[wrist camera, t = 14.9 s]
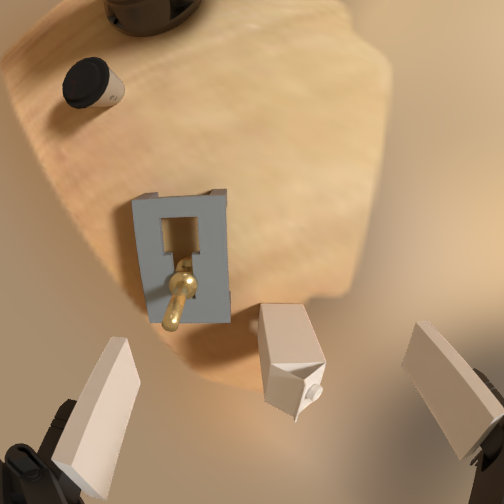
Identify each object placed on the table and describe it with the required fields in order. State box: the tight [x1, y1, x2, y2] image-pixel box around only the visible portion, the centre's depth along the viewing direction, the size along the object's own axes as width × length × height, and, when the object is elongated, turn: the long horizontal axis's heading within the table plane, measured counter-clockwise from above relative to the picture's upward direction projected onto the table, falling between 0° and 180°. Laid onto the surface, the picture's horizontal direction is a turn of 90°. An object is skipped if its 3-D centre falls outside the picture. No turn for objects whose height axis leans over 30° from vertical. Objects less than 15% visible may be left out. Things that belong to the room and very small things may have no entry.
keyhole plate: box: [131, 189, 231, 323], centre depth 40 cm, size 18×12×6 cm, turn 0°
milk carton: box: [257, 303, 326, 422], centre depth 39 cm, size 7×7×19 cm
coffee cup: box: [62, 57, 125, 109], centre depth 30 cm, size 7×7×10 cm
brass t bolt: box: [162, 257, 198, 332], centre depth 36 cm, size 4×4×15 cm
